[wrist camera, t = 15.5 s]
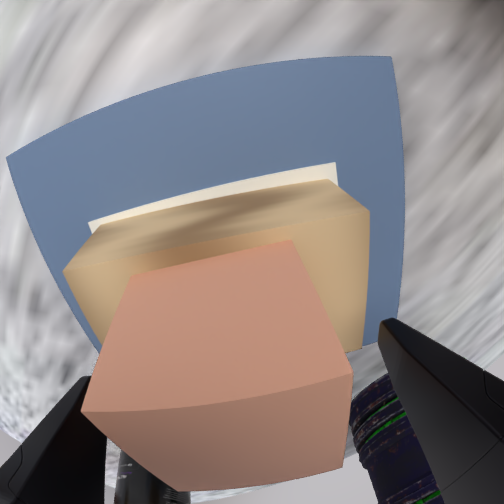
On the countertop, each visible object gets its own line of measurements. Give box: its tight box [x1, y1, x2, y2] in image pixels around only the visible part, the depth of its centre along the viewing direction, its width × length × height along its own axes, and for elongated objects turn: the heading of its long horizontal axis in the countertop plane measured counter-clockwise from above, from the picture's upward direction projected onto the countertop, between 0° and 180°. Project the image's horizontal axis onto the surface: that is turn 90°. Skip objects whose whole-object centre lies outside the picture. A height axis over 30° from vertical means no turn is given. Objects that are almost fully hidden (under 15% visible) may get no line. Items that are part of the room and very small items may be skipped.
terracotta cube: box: [81, 239, 353, 491], centre depth 8 cm, size 5×5×5 cm
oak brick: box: [62, 179, 370, 353], centre depth 12 cm, size 10×6×4 cm, turn 100°
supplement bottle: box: [114, 449, 191, 504], centre depth 18 cm, size 7×7×12 cm
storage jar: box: [349, 373, 445, 504], centre depth 16 cm, size 10×10×15 cm
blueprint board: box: [6, 56, 405, 354], centre depth 14 cm, size 18×16×1 cm
